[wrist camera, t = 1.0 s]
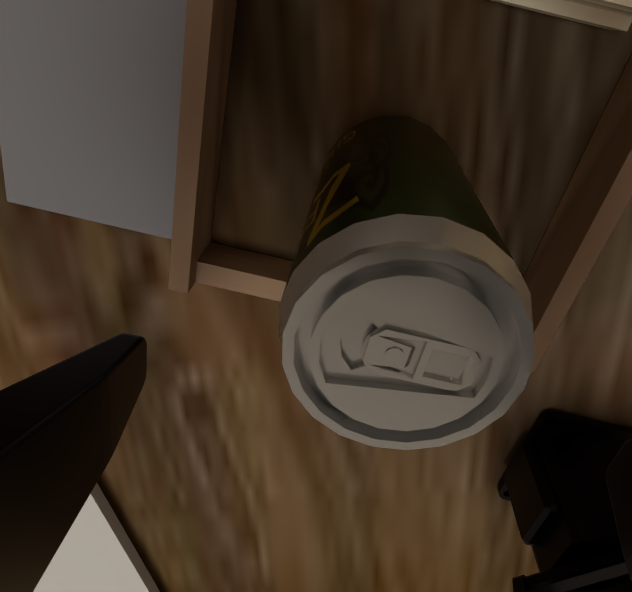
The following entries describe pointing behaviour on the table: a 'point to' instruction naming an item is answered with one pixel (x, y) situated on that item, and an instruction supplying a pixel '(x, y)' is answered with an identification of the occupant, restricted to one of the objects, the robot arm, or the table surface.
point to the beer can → (403, 296)
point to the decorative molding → (96, 555)
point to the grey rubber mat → (92, 108)
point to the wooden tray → (272, 273)
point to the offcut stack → (582, 11)
